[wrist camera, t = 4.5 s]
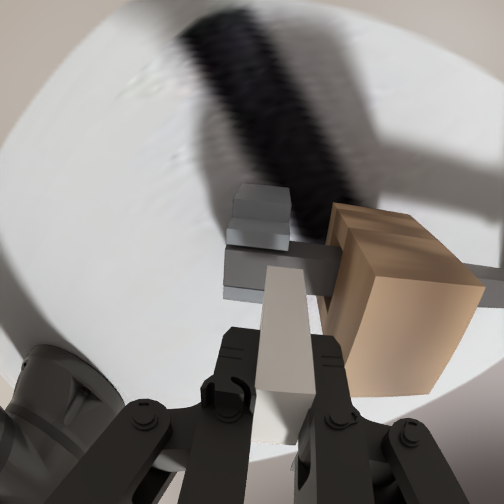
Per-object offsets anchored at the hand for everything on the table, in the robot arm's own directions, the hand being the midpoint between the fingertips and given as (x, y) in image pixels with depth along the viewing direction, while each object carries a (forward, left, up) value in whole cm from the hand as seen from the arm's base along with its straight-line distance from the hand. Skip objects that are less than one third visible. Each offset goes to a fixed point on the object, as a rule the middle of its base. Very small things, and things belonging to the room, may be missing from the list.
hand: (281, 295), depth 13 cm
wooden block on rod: (+5, 0, -6) cm, 8 cm away
